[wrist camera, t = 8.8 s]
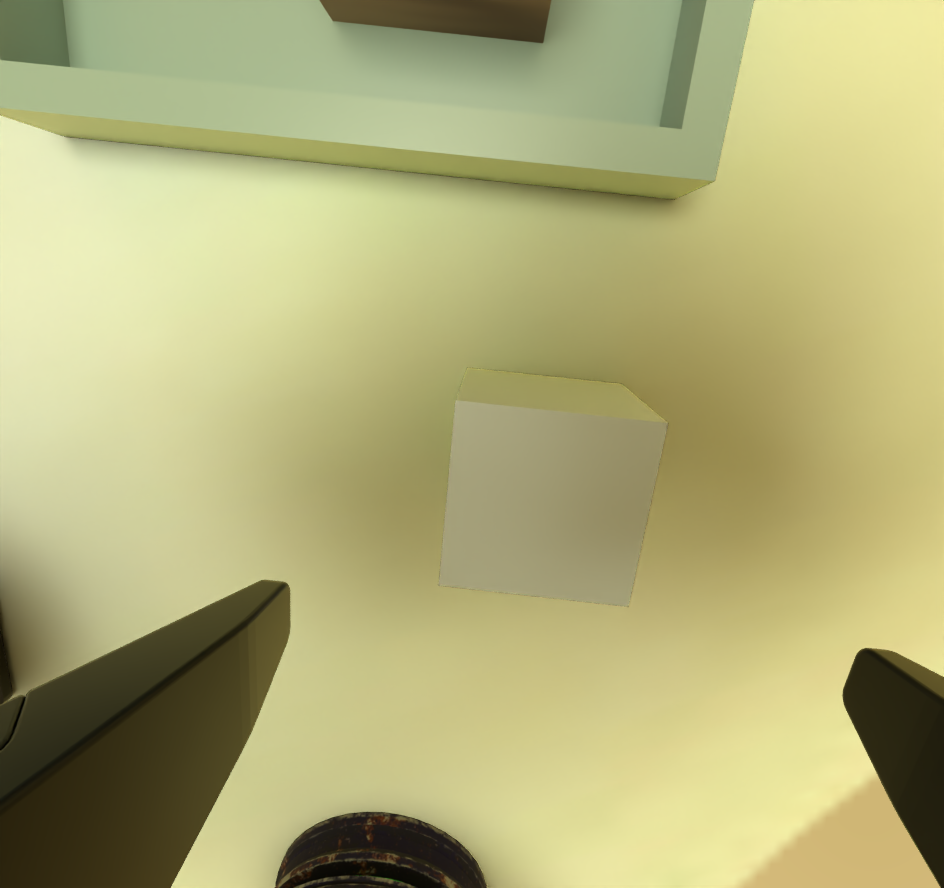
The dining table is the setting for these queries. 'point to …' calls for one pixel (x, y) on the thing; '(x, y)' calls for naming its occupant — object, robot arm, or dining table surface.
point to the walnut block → (450, 16)
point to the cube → (548, 486)
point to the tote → (390, 87)
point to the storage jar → (377, 855)
